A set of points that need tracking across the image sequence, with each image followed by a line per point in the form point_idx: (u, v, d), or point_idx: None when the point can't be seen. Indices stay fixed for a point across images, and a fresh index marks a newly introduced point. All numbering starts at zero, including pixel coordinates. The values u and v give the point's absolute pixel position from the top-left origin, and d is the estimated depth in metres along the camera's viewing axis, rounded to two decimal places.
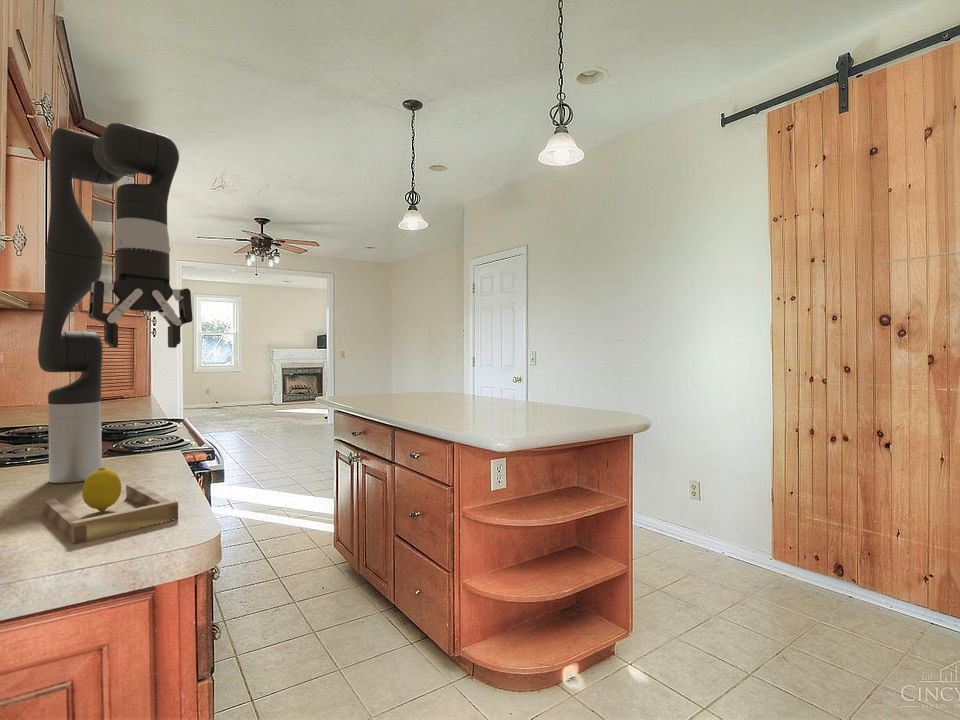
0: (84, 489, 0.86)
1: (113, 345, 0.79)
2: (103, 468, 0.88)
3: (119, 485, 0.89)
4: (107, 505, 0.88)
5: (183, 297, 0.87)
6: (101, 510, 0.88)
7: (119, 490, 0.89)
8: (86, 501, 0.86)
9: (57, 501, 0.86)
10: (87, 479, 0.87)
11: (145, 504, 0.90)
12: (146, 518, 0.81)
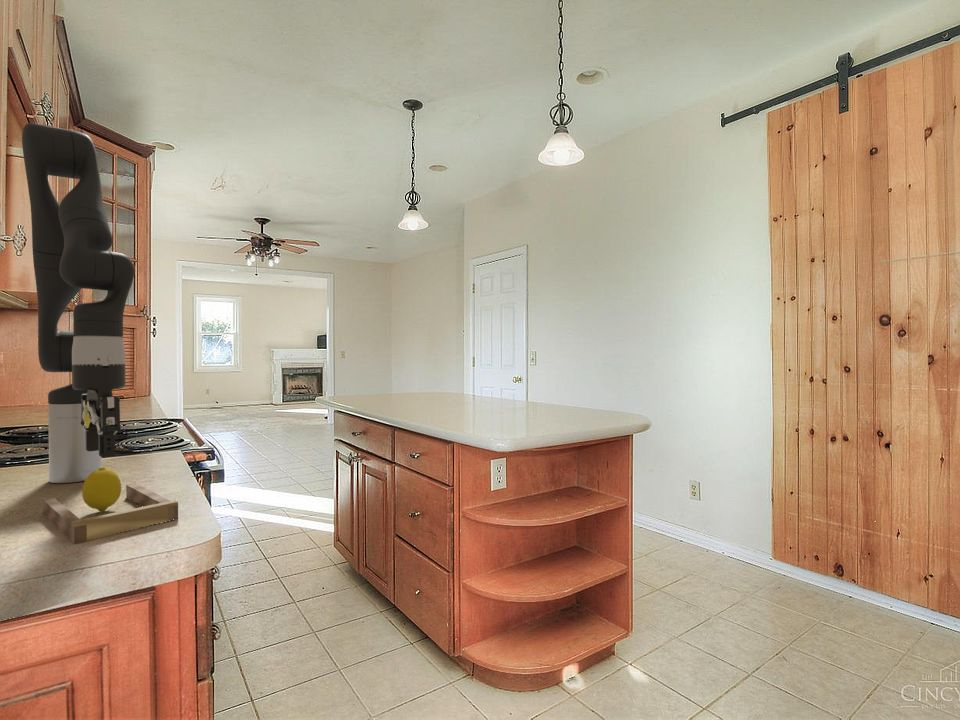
0: (84, 489, 0.86)
1: (114, 453, 0.86)
2: (103, 468, 0.88)
3: (119, 485, 0.89)
4: (107, 505, 0.88)
5: None
6: (101, 510, 0.88)
7: (119, 490, 0.89)
8: (86, 501, 0.86)
9: (57, 501, 0.86)
10: (87, 479, 0.87)
11: (145, 504, 0.90)
12: (146, 518, 0.81)
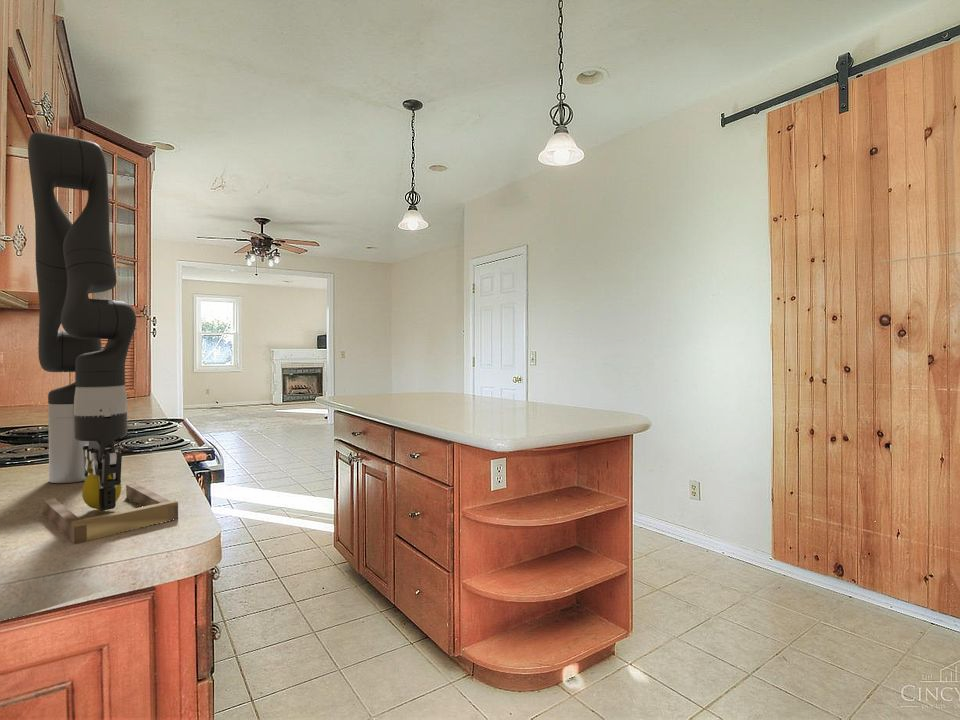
0: (84, 489, 0.86)
1: (114, 506, 0.87)
2: None
3: (119, 485, 0.89)
4: None
5: None
6: (101, 510, 0.88)
7: (119, 490, 0.89)
8: (86, 501, 0.86)
9: (57, 501, 0.86)
10: (87, 479, 0.87)
11: (145, 504, 0.90)
12: (146, 518, 0.81)
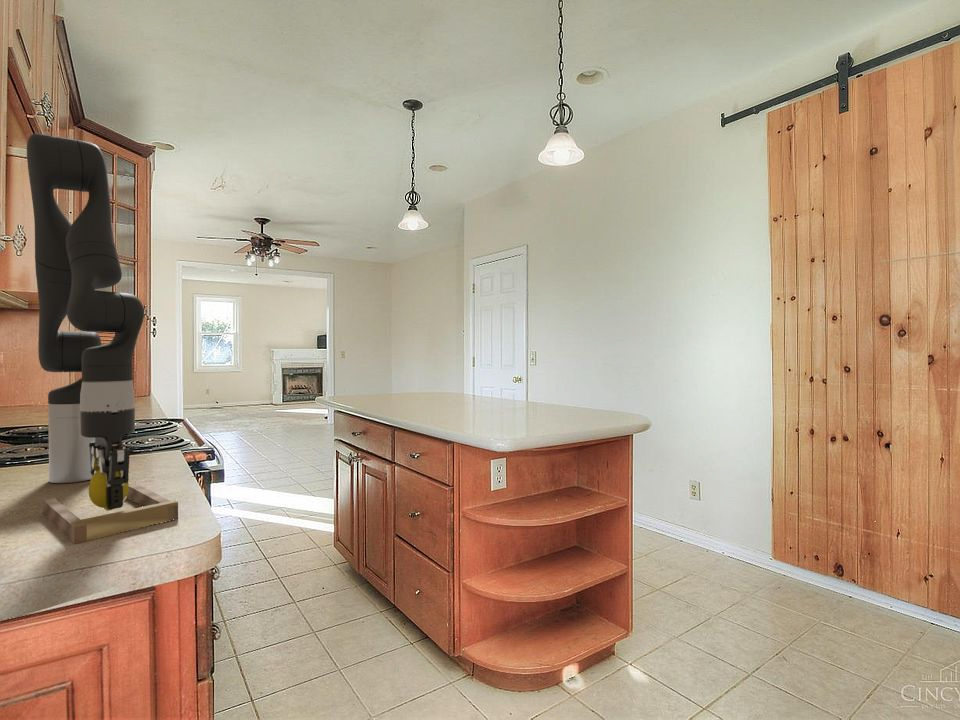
0: (90, 487, 0.83)
1: (122, 505, 0.84)
2: None
3: (126, 483, 0.86)
4: None
5: None
6: (108, 509, 0.85)
7: (126, 488, 0.86)
8: (93, 500, 0.83)
9: (57, 501, 0.86)
10: (93, 477, 0.84)
11: (145, 504, 0.90)
12: (146, 518, 0.81)
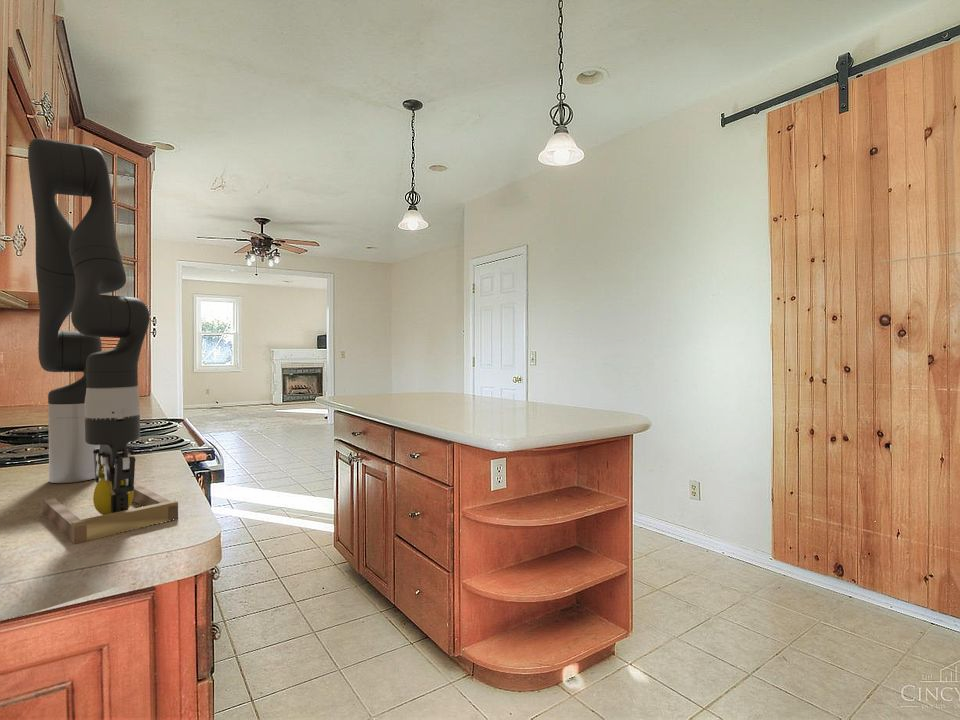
0: (95, 495, 0.82)
1: None
2: None
3: (131, 491, 0.85)
4: None
5: None
6: None
7: (132, 496, 0.85)
8: (97, 508, 0.82)
9: (57, 501, 0.86)
10: (98, 485, 0.82)
11: (145, 504, 0.90)
12: (146, 518, 0.81)
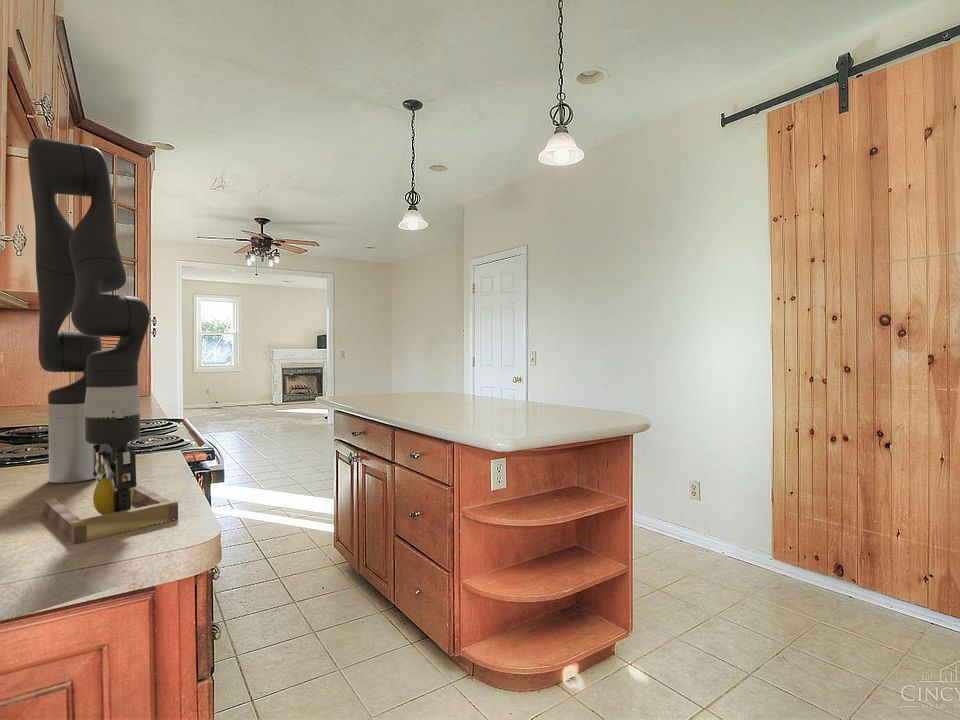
0: (95, 495, 0.82)
1: None
2: None
3: (131, 491, 0.85)
4: None
5: None
6: None
7: (131, 496, 0.85)
8: (97, 508, 0.82)
9: (57, 501, 0.86)
10: (98, 485, 0.82)
11: (145, 504, 0.90)
12: (146, 518, 0.81)
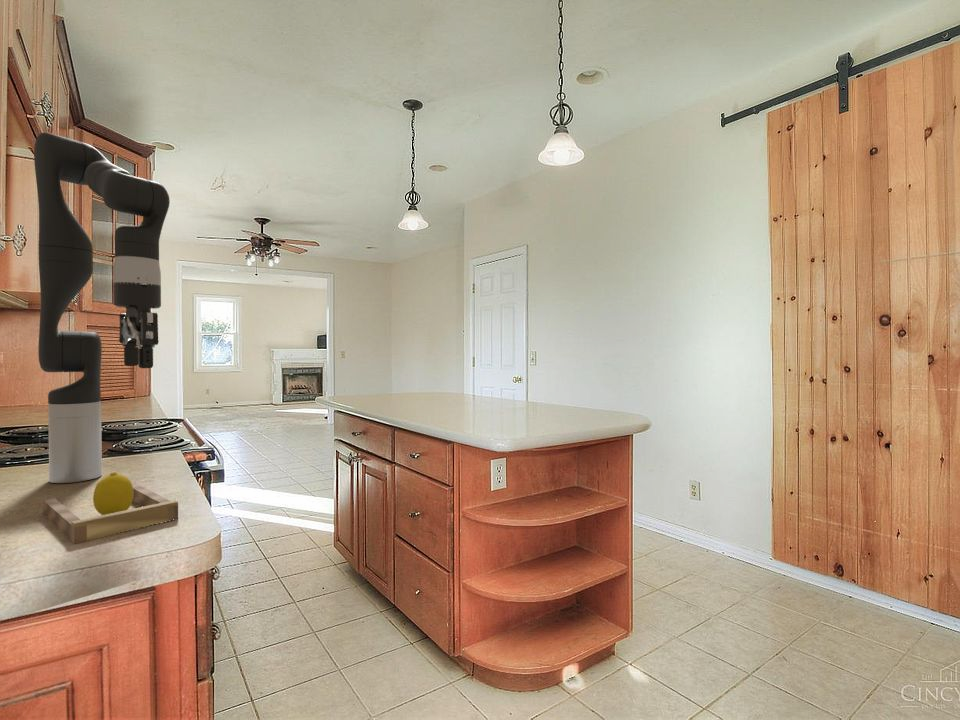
0: (95, 496, 0.82)
1: (152, 366, 0.94)
2: (115, 473, 0.84)
3: (131, 491, 0.85)
4: None
5: None
6: None
7: (131, 496, 0.85)
8: (97, 508, 0.82)
9: (57, 501, 0.86)
10: (98, 485, 0.82)
11: (145, 504, 0.90)
12: (146, 518, 0.81)
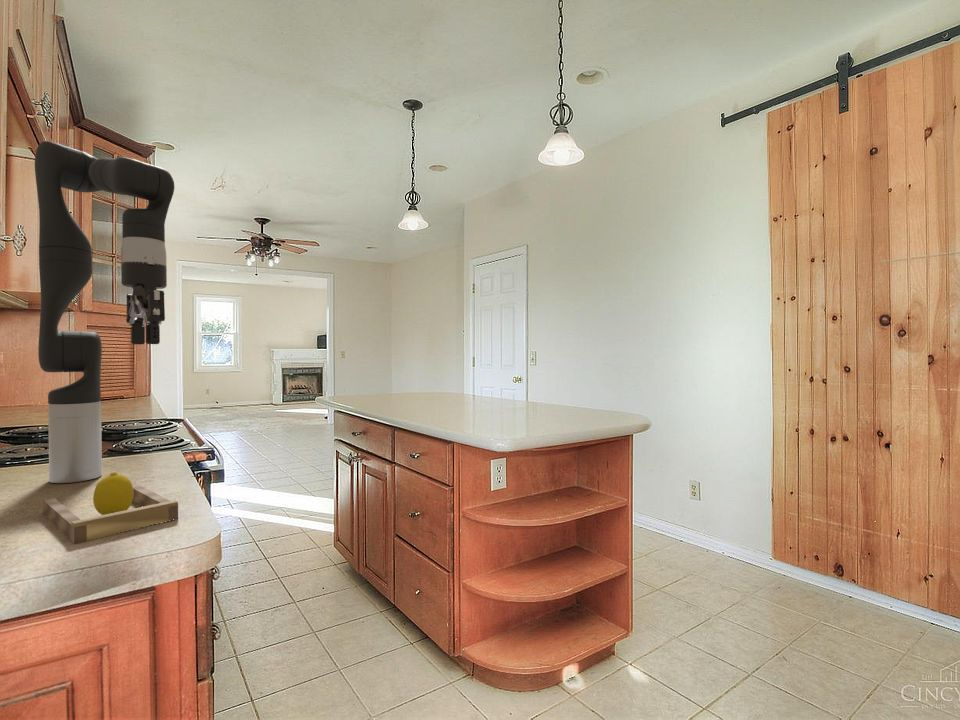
0: (95, 495, 0.82)
1: (158, 342, 0.98)
2: (115, 473, 0.84)
3: (131, 491, 0.85)
4: None
5: None
6: None
7: (131, 496, 0.85)
8: (97, 508, 0.82)
9: (57, 501, 0.86)
10: (98, 485, 0.82)
11: (145, 504, 0.90)
12: (146, 518, 0.81)
